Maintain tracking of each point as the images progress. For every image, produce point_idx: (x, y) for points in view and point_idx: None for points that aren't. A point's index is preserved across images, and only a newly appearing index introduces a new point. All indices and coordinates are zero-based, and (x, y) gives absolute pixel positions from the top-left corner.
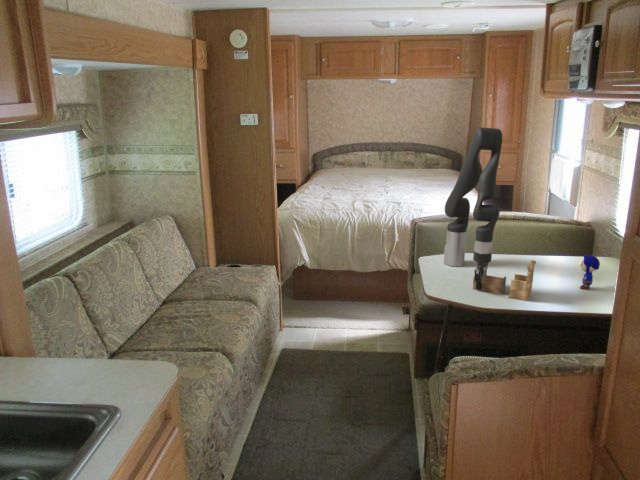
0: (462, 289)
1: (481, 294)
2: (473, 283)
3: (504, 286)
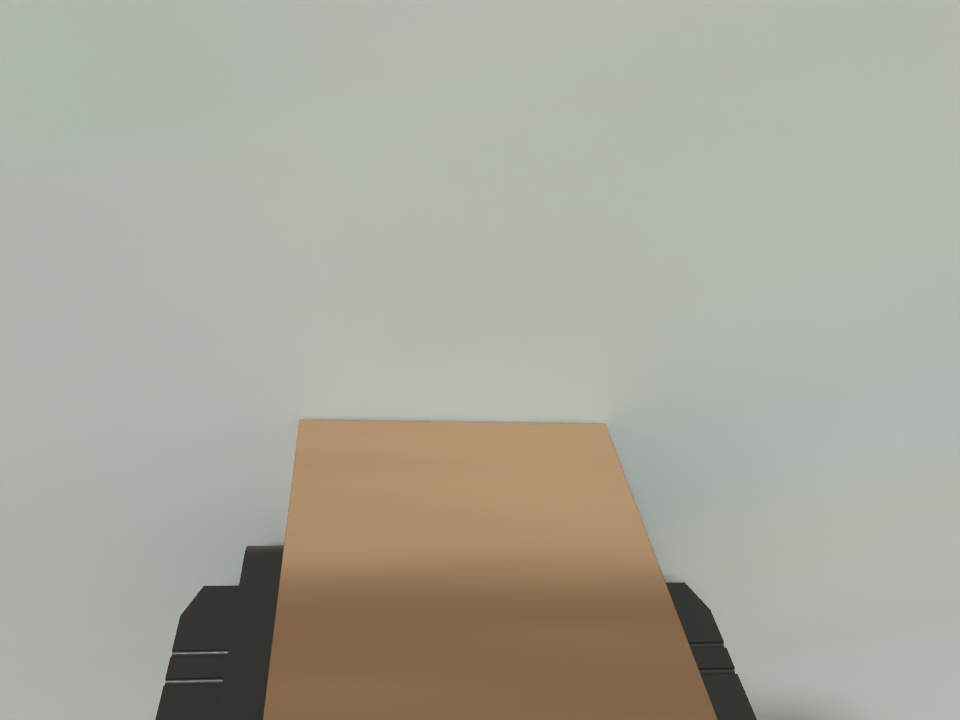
0: (43, 109)
1: (16, 685)
2: (284, 571)
3: None
